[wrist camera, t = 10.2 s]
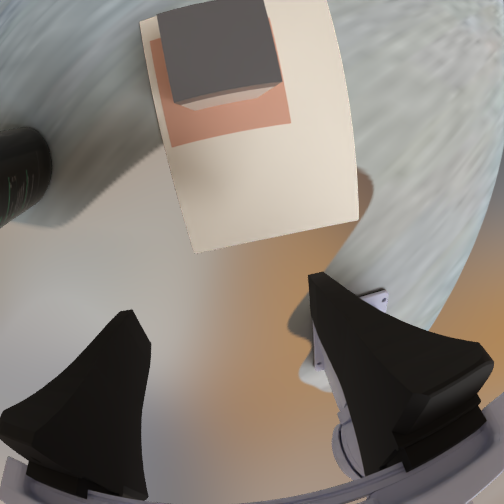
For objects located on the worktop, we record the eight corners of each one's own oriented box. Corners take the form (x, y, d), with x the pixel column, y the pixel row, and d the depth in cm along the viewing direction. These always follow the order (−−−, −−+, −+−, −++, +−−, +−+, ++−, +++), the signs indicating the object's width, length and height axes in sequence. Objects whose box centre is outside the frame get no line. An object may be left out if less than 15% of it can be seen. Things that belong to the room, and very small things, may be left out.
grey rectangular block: (256, 98, 16) (282, 81, 8) (195, 110, 16) (173, 102, 8) (245, 44, 14) (261, -6, 7) (183, 56, 14) (156, 14, 7)
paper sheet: (356, 218, 21) (359, 220, 20) (194, 251, 21) (194, 254, 20) (323, -2, 12) (325, -5, 12) (141, 23, 12) (139, 21, 12)
